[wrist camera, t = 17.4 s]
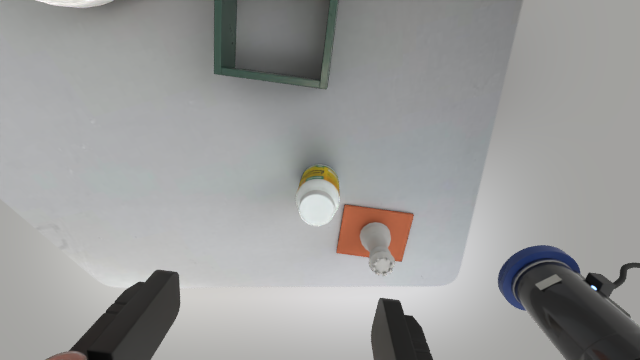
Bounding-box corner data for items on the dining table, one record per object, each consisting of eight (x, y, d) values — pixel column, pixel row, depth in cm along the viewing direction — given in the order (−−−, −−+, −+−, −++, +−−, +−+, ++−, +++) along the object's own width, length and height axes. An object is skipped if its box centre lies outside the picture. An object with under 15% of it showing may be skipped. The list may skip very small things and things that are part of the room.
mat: (413, 213, 43) (413, 215, 42) (400, 259, 46) (401, 261, 45) (344, 204, 43) (344, 205, 42) (336, 251, 46) (336, 253, 45)
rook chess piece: (396, 233, 44) (409, 267, 36) (374, 252, 45) (382, 288, 37) (375, 214, 43) (383, 245, 35) (353, 234, 44) (357, 267, 36)
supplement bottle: (313, 205, 43) (308, 239, 34) (293, 175, 42) (282, 203, 33) (346, 187, 42) (349, 218, 33) (326, 156, 41) (324, 179, 32)
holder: (342, -30, 33) (344, -47, 29) (327, 87, 38) (326, 89, 33) (231, -45, 33) (214, -65, 28) (228, 73, 38) (213, 73, 33)
